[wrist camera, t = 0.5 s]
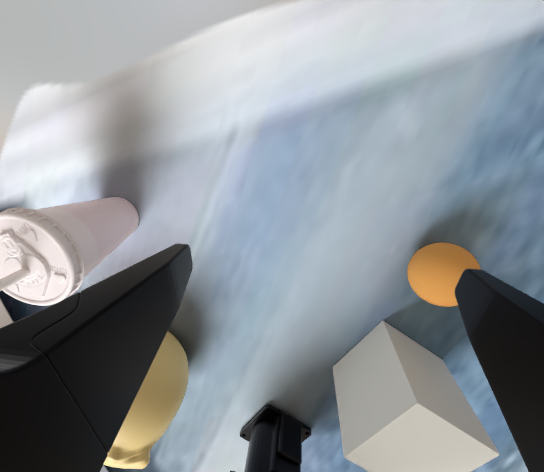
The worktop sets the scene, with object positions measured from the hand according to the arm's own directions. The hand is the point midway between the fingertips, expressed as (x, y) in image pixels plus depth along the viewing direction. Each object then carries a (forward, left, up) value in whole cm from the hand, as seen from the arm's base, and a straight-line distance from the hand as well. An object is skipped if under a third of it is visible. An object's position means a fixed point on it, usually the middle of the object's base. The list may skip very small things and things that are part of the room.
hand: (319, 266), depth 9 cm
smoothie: (-12, +13, -15) cm, 23 cm away
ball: (+1, -12, -12) cm, 18 cm away
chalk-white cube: (-10, -17, -15) cm, 25 cm away
